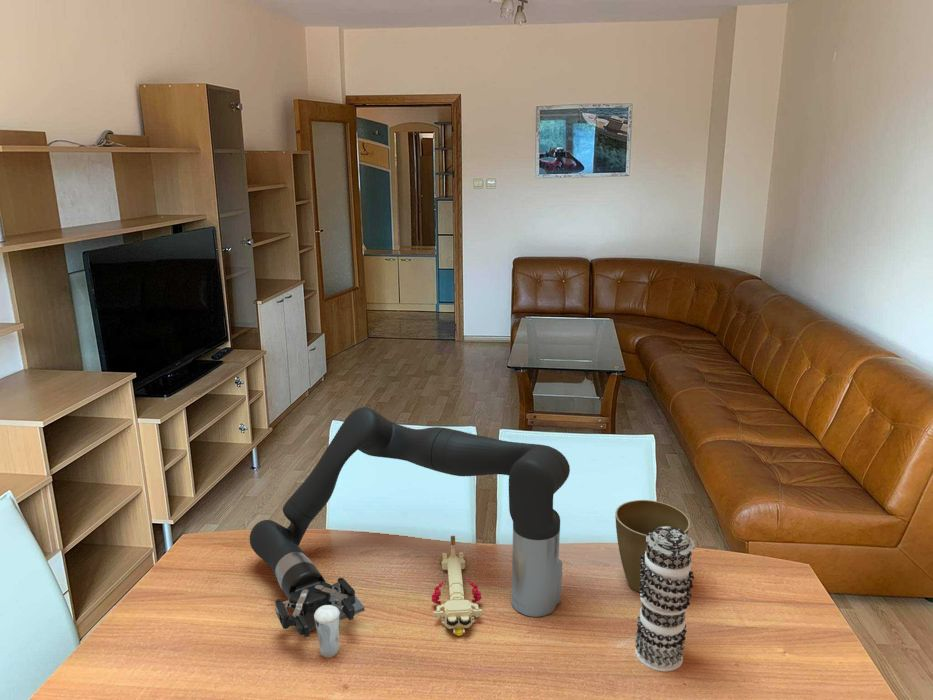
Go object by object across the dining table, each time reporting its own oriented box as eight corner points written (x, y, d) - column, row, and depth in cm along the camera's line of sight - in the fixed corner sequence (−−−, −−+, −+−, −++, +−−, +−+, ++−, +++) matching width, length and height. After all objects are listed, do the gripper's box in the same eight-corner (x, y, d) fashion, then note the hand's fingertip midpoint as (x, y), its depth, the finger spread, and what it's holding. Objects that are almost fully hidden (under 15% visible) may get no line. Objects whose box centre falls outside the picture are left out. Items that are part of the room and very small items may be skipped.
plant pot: (646, 615, 134) (652, 544, 130) (596, 576, 147) (600, 510, 142) (698, 591, 142) (706, 523, 137) (646, 556, 154) (652, 492, 149)
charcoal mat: (346, 586, 143) (346, 584, 143) (364, 610, 136) (364, 607, 136) (291, 606, 137) (291, 603, 137) (306, 632, 130) (306, 629, 129)
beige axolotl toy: (430, 569, 151) (432, 638, 127) (430, 533, 150) (432, 596, 125) (475, 567, 152) (485, 636, 128) (474, 531, 150) (485, 594, 126)
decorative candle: (628, 636, 128) (637, 519, 121) (677, 637, 128) (689, 520, 121) (638, 672, 120) (649, 548, 113) (691, 673, 119) (705, 549, 112)
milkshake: (343, 660, 122) (340, 613, 120) (314, 660, 122) (310, 613, 120) (348, 643, 127) (345, 597, 124) (319, 642, 127) (316, 596, 124)
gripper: (262, 573, 131) (290, 620, 118) (331, 551, 139) (365, 592, 126) (265, 606, 133) (293, 656, 120) (333, 582, 141) (366, 627, 128)
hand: (329, 623), depth 123 cm, fingers open, 8 cm apart
